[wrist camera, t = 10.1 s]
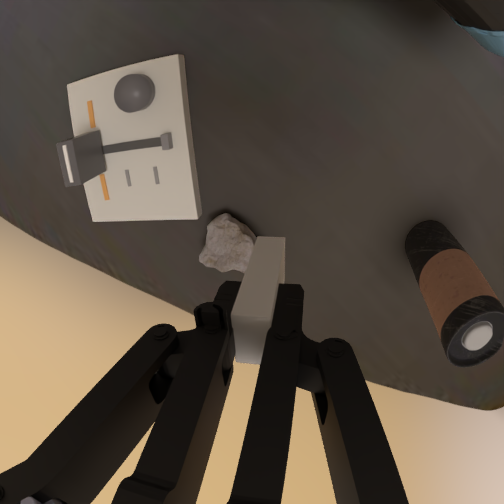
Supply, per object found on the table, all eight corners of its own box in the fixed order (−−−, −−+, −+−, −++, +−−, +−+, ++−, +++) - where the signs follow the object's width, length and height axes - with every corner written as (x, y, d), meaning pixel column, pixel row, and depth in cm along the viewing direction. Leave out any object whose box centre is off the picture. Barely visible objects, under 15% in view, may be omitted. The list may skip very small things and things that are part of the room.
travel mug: (392, 242, 42) (432, 345, 25) (433, 207, 38) (499, 295, 21) (420, 275, 43) (461, 378, 26) (458, 244, 40) (519, 337, 23)
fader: (83, 133, 39) (55, 143, 33) (99, 130, 38) (71, 139, 33) (90, 173, 41) (64, 187, 36) (106, 170, 41) (80, 185, 36)
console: (75, 83, 37) (58, 86, 34) (184, 55, 34) (171, 52, 31) (99, 216, 48) (86, 227, 44) (202, 213, 45) (193, 225, 41)
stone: (215, 203, 44) (202, 221, 39) (285, 223, 44) (282, 243, 39) (205, 252, 48) (193, 274, 43) (269, 271, 48) (265, 295, 43)
